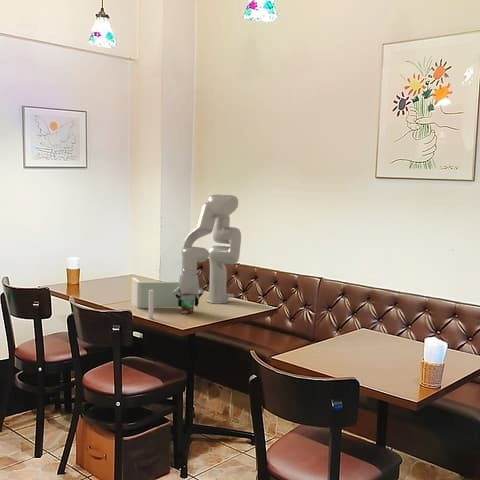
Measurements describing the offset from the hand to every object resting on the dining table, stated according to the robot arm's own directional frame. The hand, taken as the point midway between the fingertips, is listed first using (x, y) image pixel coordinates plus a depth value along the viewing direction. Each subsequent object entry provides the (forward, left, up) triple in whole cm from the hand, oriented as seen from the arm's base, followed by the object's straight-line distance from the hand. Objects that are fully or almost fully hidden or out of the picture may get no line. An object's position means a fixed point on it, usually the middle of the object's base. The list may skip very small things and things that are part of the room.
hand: (188, 306), depth 304 cm
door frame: (+21, -12, -3) cm, 25 cm away
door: (+11, -14, -3) cm, 18 cm away
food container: (-1, 0, -4) cm, 4 cm away
